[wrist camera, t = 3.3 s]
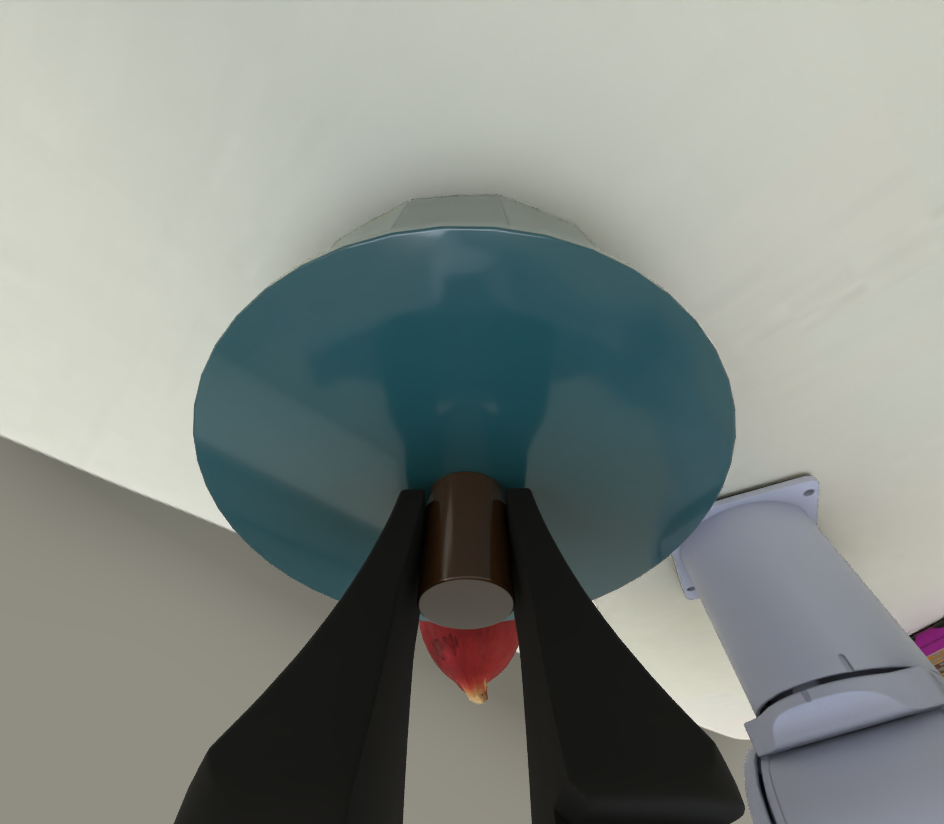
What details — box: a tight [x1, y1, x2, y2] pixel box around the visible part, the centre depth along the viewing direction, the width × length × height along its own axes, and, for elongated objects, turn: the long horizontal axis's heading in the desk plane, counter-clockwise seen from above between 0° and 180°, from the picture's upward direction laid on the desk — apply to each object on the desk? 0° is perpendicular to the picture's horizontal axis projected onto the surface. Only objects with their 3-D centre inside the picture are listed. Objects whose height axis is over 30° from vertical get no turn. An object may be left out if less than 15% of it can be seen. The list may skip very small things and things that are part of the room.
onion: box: [419, 620, 519, 704], centre depth 23 cm, size 6×6×8 cm
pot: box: [330, 194, 598, 249], centre depth 16 cm, size 15×15×6 cm
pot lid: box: [193, 222, 736, 629], centre depth 12 cm, size 16×16×4 cm
